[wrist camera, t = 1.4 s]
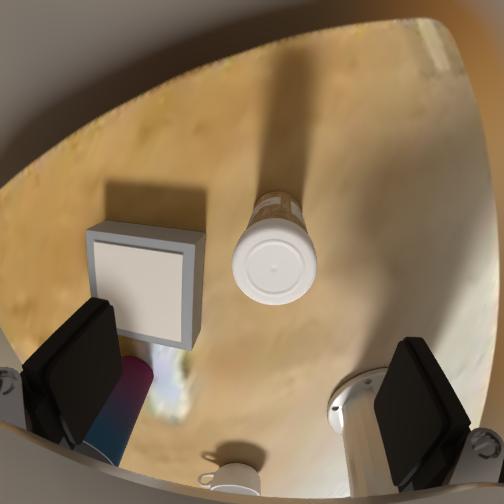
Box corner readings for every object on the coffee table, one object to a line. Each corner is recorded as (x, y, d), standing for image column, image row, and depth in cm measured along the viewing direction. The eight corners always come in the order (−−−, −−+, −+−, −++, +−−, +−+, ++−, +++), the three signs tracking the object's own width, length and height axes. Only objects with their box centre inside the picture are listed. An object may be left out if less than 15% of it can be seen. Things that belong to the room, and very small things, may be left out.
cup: (115, 341, 36) (53, 423, 22) (164, 364, 36) (117, 457, 22) (110, 377, 38) (59, 454, 24) (155, 397, 38) (115, 483, 24)
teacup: (265, 460, 41) (262, 487, 36) (261, 482, 43) (258, 507, 38) (200, 452, 42) (193, 478, 36) (203, 474, 44) (197, 498, 39)
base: (206, 232, 30) (194, 245, 26) (200, 329, 34) (191, 352, 30) (106, 220, 31) (84, 230, 27) (111, 311, 34) (94, 329, 30)
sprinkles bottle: (255, 187, 29) (235, 220, 16) (306, 194, 28) (325, 232, 16) (250, 235, 30) (226, 301, 17) (298, 242, 30) (309, 313, 17)
